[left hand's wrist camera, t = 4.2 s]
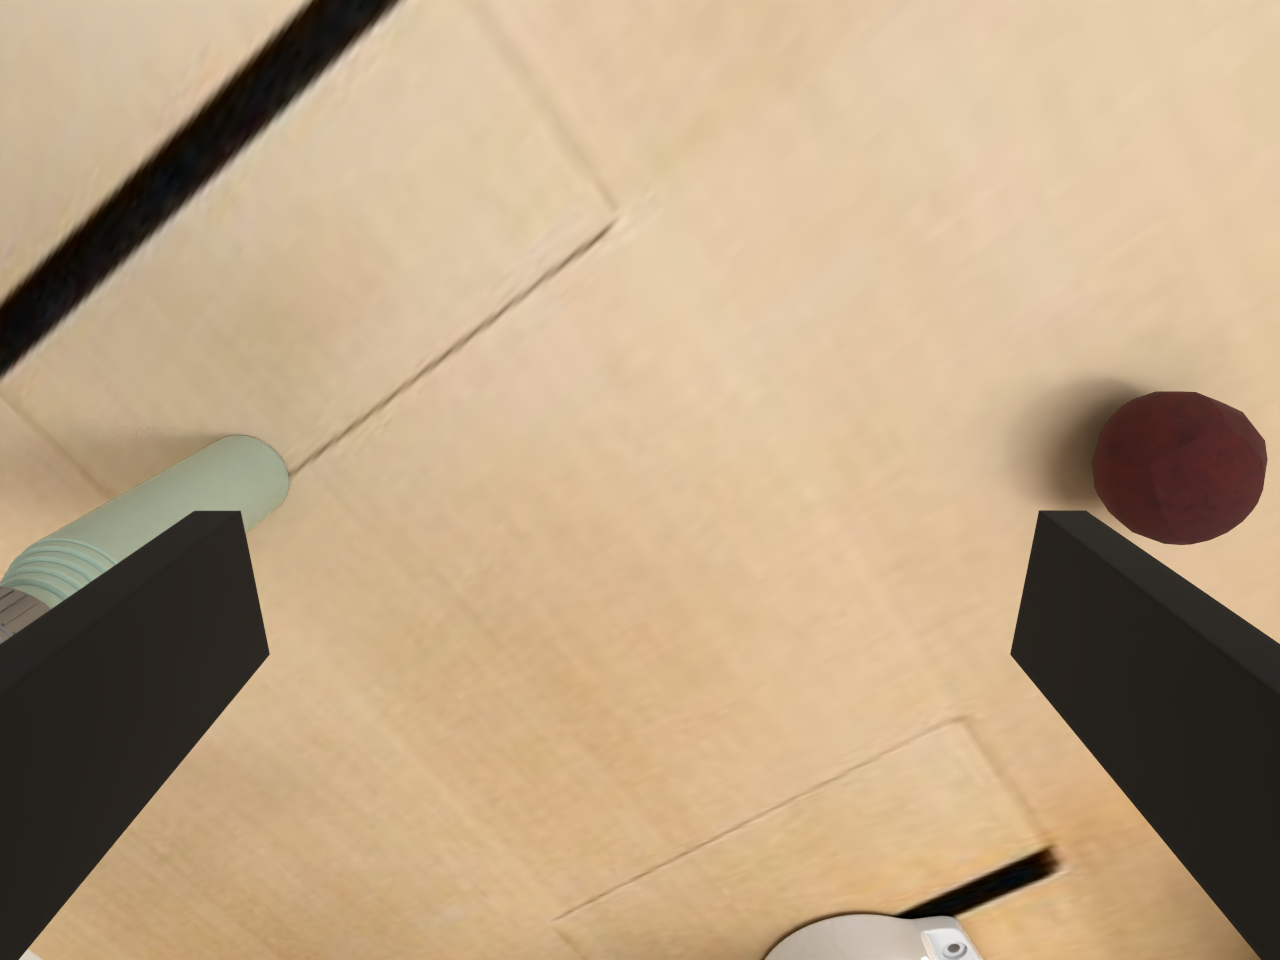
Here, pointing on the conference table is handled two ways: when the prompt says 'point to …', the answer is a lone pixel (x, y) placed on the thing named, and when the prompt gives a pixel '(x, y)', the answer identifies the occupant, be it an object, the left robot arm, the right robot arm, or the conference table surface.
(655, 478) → the conference table surface
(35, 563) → the bottle
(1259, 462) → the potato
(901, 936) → the right robot arm
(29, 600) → the cap
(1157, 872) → the conference table surface
